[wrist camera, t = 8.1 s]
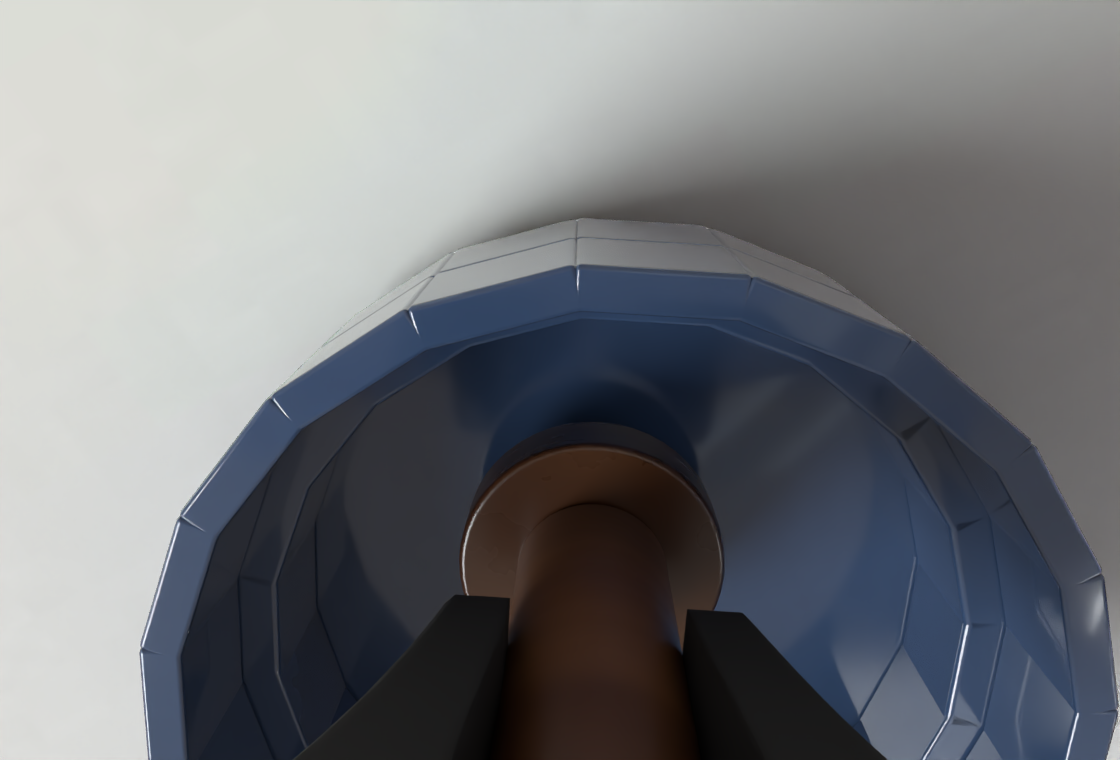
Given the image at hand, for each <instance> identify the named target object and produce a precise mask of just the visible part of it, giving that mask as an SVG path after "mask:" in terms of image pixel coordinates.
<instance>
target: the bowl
mask: <svg viewBox="0 0 1120 760" xmlns="http://www.w3.org/2000/svg"><path fill="white" fill-rule="evenodd" d="M578 422H604V423H612V424H619V425H623V426H626V427H630V428H634V429H636V430H639V431H642V432H644V433H647V434H649V435H651V436H653V437H655V438H656V439H658V440H660V441H662V442H664V443H665V444H666V445H668V446H669V447H670V448H672V449H673V450H675V451H676V452H677V453H678V454H679V455H680V456H681V457H682V458H683V459H684V460H685V461H687V462H688V463H689V465H690V466H691V467H692V469H693V470H694V471H695V472H696V474H697V475H698V476H699V478H700V480H701V481H702V483H703V485H704V486H705V488H706V490H707V493H708V495H709V498H710V500H711V502H712V505H713V508H714V512H715V515H716V518H717V521H718V524H719V527H720V531H721V535H722V539H723V543H724V552H725V575H724V581H723V586H722V591H721V594H720V597H719V600H718V602H717V605H716V607H715V609H714V611H726V612H741V613H743V614H744V615H745V616H746V617H747V618H748V619H749V620H750V621H751V622H752V623H753V624H754V625H755V626H756V627H757V628H758V629H759V631H760V632H761V633H762V634H763V635H764V636H765V637H766V638H767V639H768V640H769V641H770V643H771V644H772V645H773V646H774V647H775V648H776V649H777V650H778V651H779V652H780V654H781V655H782V656H783V657H784V658H785V659H786V660H787V661H788V662H789V663H790V664H791V665H792V666H793V667H794V669H795V670H796V671H797V672H798V673H799V674H800V675H801V676H802V677H803V678H804V679H805V680H806V681H807V682H808V683H809V684H810V685H811V686H812V688H813V689H814V690H815V691H816V692H817V693H818V694H819V695H820V696H821V697H822V698H823V699H824V700H825V701H826V702H827V703H828V704H829V705H830V706H831V707H832V708H833V709H834V710H835V711H836V712H837V713H838V714H839V715H840V716H841V717H842V718H843V719H844V720H845V721H846V722H847V723H848V724H849V725H851V726H852V727H853V728H854V729H855V730H856V731H857V732H858V733H859V734H860V735H861V736H862V737H863V738H864V739H865V740H866V741H867V742H869V743H870V744H871V745H872V746H873V747H874V748H875V749H876V750H877V751H879V752H880V753H881V754H882V755H883V756H884V757H885V758H886V759H888V760H1106V758H1107V755H1108V751H1109V747H1110V743H1111V740H1112V736H1113V732H1114V728H1115V724H1116V721H1117V717H1118V711H1117V709H1118V707H1119V704H1118V695H1117V686H1116V677H1115V669H1114V660H1113V651H1112V642H1111V633H1110V624H1109V615H1108V607H1107V598H1106V589H1105V580H1104V576H1103V574H1102V569H1101V566H1100V564H1099V563H1098V561H1097V559H1096V557H1095V555H1094V553H1093V551H1092V550H1091V548H1090V546H1089V544H1088V542H1087V540H1086V538H1085V537H1084V535H1083V533H1082V531H1081V529H1080V527H1079V525H1078V524H1077V522H1076V520H1075V518H1074V516H1073V514H1072V512H1071V510H1070V509H1069V507H1068V505H1067V503H1066V501H1065V499H1064V497H1063V496H1062V494H1061V492H1060V490H1059V488H1058V486H1057V484H1056V483H1055V481H1054V479H1053V477H1052V475H1051V473H1050V471H1049V469H1048V468H1047V466H1046V464H1045V462H1044V460H1043V458H1042V456H1041V455H1040V453H1039V451H1038V449H1037V447H1036V446H1035V445H1033V444H1032V442H1031V440H1030V438H1028V437H1027V436H1026V435H1025V434H1024V433H1023V432H1022V431H1020V430H1019V429H1018V428H1017V427H1016V426H1015V425H1013V424H1012V423H1011V422H1010V421H1009V420H1008V419H1007V418H1005V417H1004V416H1003V415H1002V414H1001V413H1000V412H998V411H997V410H996V409H995V408H994V407H993V406H992V405H990V404H989V403H988V402H987V401H986V400H985V399H983V398H982V397H981V396H980V395H979V394H978V393H977V392H975V391H974V390H973V389H972V388H971V387H970V386H968V385H967V384H966V383H965V382H964V381H963V380H962V379H960V378H959V377H958V376H957V375H956V374H955V373H953V372H952V371H951V370H950V369H949V368H948V367H947V366H945V365H944V364H943V363H942V362H941V361H940V360H939V359H937V358H936V357H935V356H934V355H933V354H932V353H930V352H929V351H928V350H927V349H926V348H925V347H924V346H922V345H921V344H920V343H919V342H918V341H917V340H915V339H914V338H912V337H911V336H910V335H908V334H907V333H906V332H904V331H903V330H901V329H900V328H899V327H897V326H896V325H895V324H893V323H892V322H890V321H889V320H888V319H886V318H885V317H884V316H882V315H881V314H880V313H878V312H877V311H875V310H874V309H873V308H871V307H870V306H869V305H867V304H866V303H864V302H863V301H862V300H860V299H859V298H858V297H856V296H855V295H854V294H852V293H851V292H849V291H848V290H847V289H845V288H844V287H843V286H841V285H840V284H838V283H837V282H836V281H834V280H833V279H832V278H830V277H829V276H827V275H825V274H822V273H821V272H820V271H818V270H816V269H814V268H811V267H809V266H806V265H804V264H801V263H799V262H796V261H794V260H791V259H789V258H786V257H784V256H781V255H779V254H776V253H774V252H771V251H769V250H766V249H764V248H761V247H759V246H756V245H754V244H751V243H749V242H746V241H744V240H741V239H739V238H736V237H733V236H731V235H728V234H726V233H723V232H721V231H718V230H716V229H713V228H708V229H707V228H706V227H705V226H703V225H693V224H676V223H659V222H643V221H626V220H609V219H592V218H579V219H578V220H574V219H571V220H567V221H563V222H560V223H556V224H552V225H548V226H544V227H540V228H537V229H533V230H529V231H525V232H521V233H518V234H514V235H510V236H506V237H502V238H499V239H495V240H491V241H487V242H483V243H479V244H476V245H472V246H468V247H464V248H460V249H458V250H457V251H456V252H455V253H454V252H453V253H449V254H447V255H446V256H444V257H443V258H441V259H440V260H438V261H436V262H435V263H433V264H432V265H430V266H429V267H427V268H426V269H424V270H423V271H421V272H420V273H418V274H417V275H415V276H414V277H412V278H410V279H409V280H407V281H406V282H404V283H403V284H401V285H400V286H398V287H397V288H395V289H394V290H392V291H391V292H389V293H388V294H386V295H384V296H383V297H381V298H380V299H378V300H377V301H375V302H374V303H372V304H371V305H369V306H368V307H366V308H365V309H363V310H362V311H360V312H358V313H357V314H356V315H354V316H353V317H352V318H351V319H350V320H349V321H348V322H347V323H346V324H345V325H344V326H343V327H342V328H341V329H340V330H338V331H337V332H336V333H335V334H334V335H333V336H332V337H331V338H330V339H329V340H328V341H327V342H326V343H325V344H324V345H323V346H322V347H321V348H320V349H319V350H318V351H317V352H315V354H313V355H312V356H311V357H310V358H309V359H308V360H307V361H306V362H305V363H304V364H303V365H302V366H301V367H300V368H299V369H298V370H297V371H295V372H294V373H293V374H292V375H291V376H290V377H289V378H288V379H287V380H286V381H285V382H284V383H283V384H282V385H281V386H280V387H279V388H278V389H277V390H276V391H275V392H273V393H272V394H271V395H270V396H269V397H268V398H267V399H266V400H265V402H264V403H263V404H262V405H261V407H260V408H259V409H258V411H257V412H256V413H255V415H254V416H253V417H252V419H251V420H250V421H249V422H248V424H247V425H246V426H245V428H244V429H243V430H242V432H241V433H240V434H239V436H238V437H237V438H236V440H235V441H234V442H233V443H232V445H231V446H230V447H229V449H228V450H227V451H226V453H225V454H224V455H223V457H222V458H221V459H220V461H219V462H218V463H217V464H216V466H215V467H214V468H213V470H212V471H211V472H210V474H209V475H208V476H207V478H206V479H205V480H204V482H203V483H202V484H201V485H200V487H199V488H198V489H197V491H196V492H195V493H194V495H193V496H192V497H191V499H190V500H189V501H188V503H187V504H186V505H185V506H184V508H183V509H182V510H181V514H180V516H179V518H178V519H177V521H176V524H175V527H174V531H173V534H172V538H171V541H170V544H169V548H168V551H167V554H166V558H165V561H164V565H163V568H162V571H161V575H160V578H159V582H158V585H157V588H156V592H155V595H154V599H153V602H152V605H151V609H150V612H149V616H148V619H147V622H146V626H145V629H144V633H143V636H142V639H141V649H140V664H141V676H142V689H143V701H144V713H145V725H146V737H147V750H148V760H293V759H294V758H295V757H296V756H298V755H299V754H300V753H301V752H302V751H304V750H305V749H306V748H307V747H308V746H309V745H311V744H312V743H313V742H314V741H315V740H316V739H317V738H318V737H320V736H321V735H322V734H323V733H324V732H325V731H326V730H327V729H328V728H329V727H330V726H331V725H333V724H334V723H335V722H336V721H337V720H338V719H339V718H340V717H341V716H342V715H343V714H344V713H346V712H347V711H348V710H349V709H350V708H351V707H352V706H353V705H354V704H355V703H356V702H357V701H358V700H359V699H360V698H361V697H363V696H364V695H365V694H366V693H367V692H368V691H369V689H370V688H371V687H372V686H373V685H374V684H375V683H376V682H377V681H378V680H379V679H380V678H381V677H382V676H383V675H384V674H385V673H386V672H387V670H388V669H389V668H390V667H391V666H392V665H393V664H394V663H395V662H396V661H397V660H398V659H399V658H400V657H401V656H402V654H403V653H404V652H405V651H406V650H407V649H408V648H409V646H410V645H411V644H412V643H413V642H414V641H415V640H416V638H417V637H418V636H419V635H420V634H421V633H422V631H423V630H424V629H425V628H426V627H427V625H428V624H429V623H430V622H431V620H432V619H433V618H434V617H435V615H436V614H437V613H438V612H439V610H440V609H441V608H442V606H443V605H444V604H445V603H446V602H447V601H448V600H449V599H451V598H452V597H453V596H454V595H455V594H456V595H464V592H463V589H462V584H461V578H460V569H459V554H460V545H461V540H462V536H463V532H464V528H465V524H466V521H467V517H468V513H469V510H470V506H471V503H472V500H473V498H474V495H475V493H476V490H477V488H478V487H479V485H480V483H481V481H482V480H483V478H484V476H485V475H486V474H487V472H488V471H489V470H490V468H491V467H492V466H493V465H494V463H495V462H496V461H497V460H498V459H500V458H501V457H502V456H503V455H504V454H505V453H506V452H507V451H508V450H510V449H511V448H512V447H514V446H515V445H516V444H518V443H519V442H521V441H523V440H525V439H526V438H528V437H530V436H532V435H534V434H536V433H539V432H541V431H544V430H546V429H549V428H552V427H556V426H560V425H564V424H570V423H578ZM682 652H683V651H682Z"/></svg>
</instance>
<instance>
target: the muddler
mask: <svg viewBox="0 0 1120 760" xmlns="http://www.w3.org/2000/svg"><path fill="white" fill-rule="evenodd" d="M459 569H460V578H461V584H462V589H463V592H464V595H471V596H487V597H503V598H510V610H509V631H508V649H507V656H506V663H505V671H504V678H503V685H502V693H501V700H500V706H499V710H498V715H497V720H496V726H495V731H494V736H493V741H492V748H491V755H490V760H701V756H700V751H699V745H698V739H697V734H696V728H695V723H694V718H693V714H692V708H691V702H690V697H689V691H688V685H687V680H686V674H685V669H684V663H683V657H682V651H683V642H684V633H685V624H686V615H687V609H694V610H710V611H714V609H715V607H716V605H717V602H718V600H719V597H720V594H721V591H722V586H723V581H724V575H725V552H724V543H723V539H722V535H721V531H720V527H719V524H718V521H717V518H716V515H715V512H714V508H713V505H712V502H711V500H710V498H709V495H708V493H707V490H706V488H705V486H704V485H703V483H702V481H701V480H700V478H699V476H698V475H697V474H696V472H695V471H694V470H693V469H692V467H691V466H690V465H689V463H688V462H687V461H685V460H684V459H683V458H682V457H681V456H680V455H679V454H678V453H677V452H676V451H675V450H673V449H672V448H670V447H669V446H668V445H666V444H665V443H664V442H662V441H660V440H658V439H656V438H655V437H653V436H651V435H649V434H647V433H644V432H642V431H639V430H636V429H634V428H630V427H626V426H623V425H619V424H612V423H604V422H578V423H570V424H564V425H560V426H556V427H552V428H549V429H546V430H544V431H541V432H539V433H536V434H534V435H532V436H530V437H528V438H526V439H525V440H523V441H521V442H519V443H518V444H516V445H515V446H514V447H512V448H511V449H510V450H508V451H507V452H506V453H505V454H504V455H503V456H502V457H501V458H500V459H498V460H497V461H496V462H495V463H494V465H493V466H492V467H491V468H490V470H489V471H488V472H487V474H486V475H485V476H484V478H483V480H482V481H481V483H480V485H479V487H478V488H477V490H476V493H475V495H474V498H473V500H472V503H471V506H470V510H469V513H468V517H467V521H466V524H465V528H464V532H463V536H462V540H461V545H460V554H459Z"/></svg>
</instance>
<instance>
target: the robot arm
mask: <svg viewBox="0 0 1120 760" xmlns="http://www.w3.org/2000/svg"><path fill="white" fill-rule="evenodd" d="M509 610H510V598H503V597H487V596H471V595H456V594H455V595H454V596H453V597H452V598H451V599H449V600H448V601H447V602H446V603H445V604H444V605H443V606H442V608H441V609H440V610H439V612H438V613H437V614H436V615H435V617H434V618H433V619H432V620H431V622H430V623H429V624H428V625H427V627H426V628H425V629H424V630H423V631H422V633H421V634H420V635H419V636H418V637H417V638H416V640H415V641H414V642H413V643H412V644H411V645H410V646H409V648H408V649H407V650H406V651H405V652H404V653H403V654H402V656H401V657H400V658H399V659H398V660H397V661H396V662H395V663H394V664H393V665H392V666H391V667H390V668H389V669H388V670H387V672H386V673H385V674H384V675H383V676H382V677H381V678H380V679H379V680H378V681H377V682H376V683H375V684H374V685H373V686H372V687H371V688H370V689H369V691H368V692H367V693H366V694H365V695H364V696H363V697H361V698H360V699H359V700H358V701H357V702H356V703H355V704H354V705H353V706H352V707H351V708H350V709H349V710H348V711H347V712H346V713H344V714H343V715H342V716H341V717H340V718H339V719H338V720H337V721H336V722H335V723H334V724H333V725H331V726H330V727H329V728H328V729H327V730H326V731H325V732H324V733H323V734H322V735H321V736H320V737H318V738H317V739H316V740H315V741H314V742H313V743H312V744H311V745H309V746H308V747H307V748H306V749H305V750H304V751H302V752H301V753H300V754H299V755H298V756H296V757H295V758H294V759H293V760H490V755H491V748H492V741H493V736H494V731H495V726H496V720H497V715H498V710H499V706H500V700H501V693H502V685H503V678H504V671H505V663H506V656H507V649H508V631H509ZM682 657H683V663H684V669H685V674H686V680H687V685H688V691H689V697H690V702H691V708H692V714H693V718H694V723H695V728H696V734H697V739H698V745H699V751H700V756H701V760H888V759H886V758H885V757H884V756H883V755H882V754H881V753H880V752H879V751H877V750H876V749H875V748H874V747H873V746H872V745H871V744H870V743H869V742H867V741H866V740H865V739H864V738H863V737H862V736H861V735H860V734H859V733H858V732H857V731H856V730H855V729H854V728H853V727H852V726H851V725H849V724H848V723H847V722H846V721H845V720H844V719H843V718H842V717H841V716H840V715H839V714H838V713H837V712H836V711H835V710H834V709H833V708H832V707H831V706H830V705H829V704H828V703H827V702H826V701H825V700H824V699H823V698H822V697H821V696H820V695H819V694H818V693H817V692H816V691H815V690H814V689H813V688H812V686H811V685H810V684H809V683H808V682H807V681H806V680H805V679H804V678H803V677H802V676H801V675H800V674H799V673H798V672H797V671H796V670H795V669H794V667H793V666H792V665H791V664H790V663H789V662H788V661H787V660H786V659H785V658H784V657H783V656H782V655H781V654H780V652H779V651H778V650H777V649H776V648H775V647H774V646H773V645H772V644H771V643H770V641H769V640H768V639H767V638H766V637H765V636H764V635H763V634H762V633H761V632H760V631H759V629H758V628H757V627H756V626H755V625H754V624H753V623H752V622H751V621H750V620H749V619H748V618H747V617H746V616H745V615H744V614H743V613H741V612H726V611H710V610H694V609H687V615H686V624H685V633H684V642H683V652H682Z"/></svg>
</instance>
